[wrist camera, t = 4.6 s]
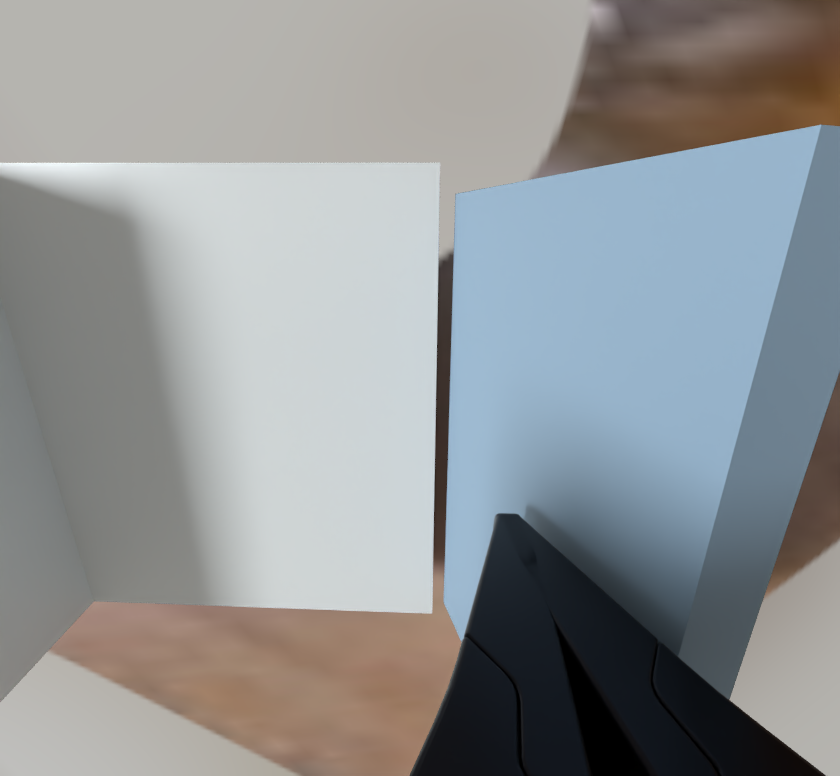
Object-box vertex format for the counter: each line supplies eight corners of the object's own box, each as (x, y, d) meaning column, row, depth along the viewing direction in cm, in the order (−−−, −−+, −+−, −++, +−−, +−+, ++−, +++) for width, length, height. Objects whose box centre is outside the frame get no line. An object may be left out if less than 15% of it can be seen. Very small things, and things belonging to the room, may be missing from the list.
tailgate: (536, 196, 11) (988, 141, 4) (503, 588, 16) (698, 897, 8) (455, 194, 11) (821, 125, 4) (443, 602, 15) (599, 949, 8)
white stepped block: (439, 176, 14) (441, 111, 6) (433, 554, 18) (429, 782, 11) (-6, 176, 14) (-520, 115, 7) (99, 543, 19) (-129, 754, 11)
